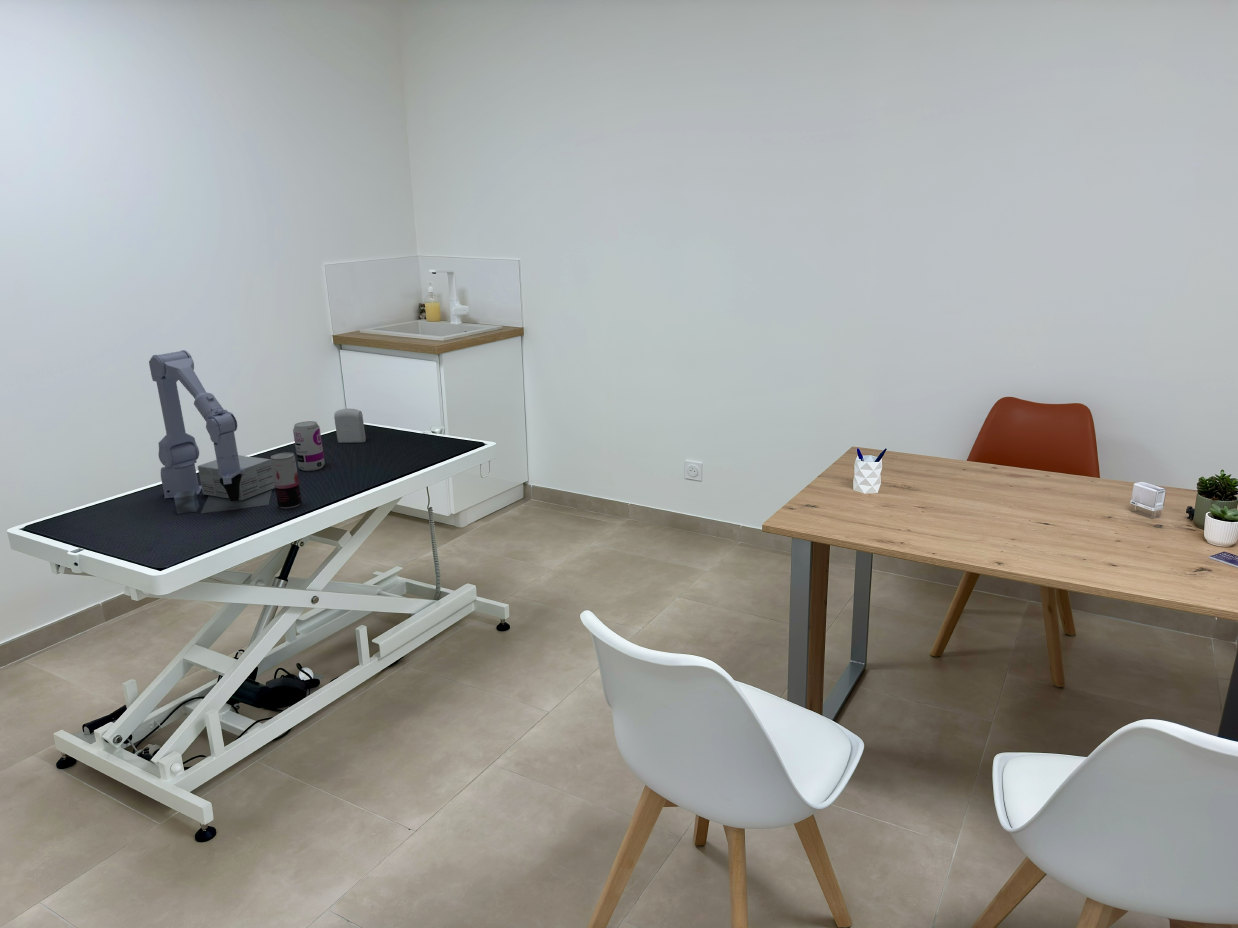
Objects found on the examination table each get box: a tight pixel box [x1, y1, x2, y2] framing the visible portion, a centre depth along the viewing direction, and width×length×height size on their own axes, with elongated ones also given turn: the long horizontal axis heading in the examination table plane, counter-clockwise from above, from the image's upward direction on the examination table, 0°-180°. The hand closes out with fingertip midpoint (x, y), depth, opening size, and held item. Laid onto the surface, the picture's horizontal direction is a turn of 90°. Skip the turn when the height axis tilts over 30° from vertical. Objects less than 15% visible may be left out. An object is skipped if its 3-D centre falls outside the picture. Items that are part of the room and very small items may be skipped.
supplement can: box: [292, 420, 326, 472], centre depth 276 cm, size 8×8×15 cm
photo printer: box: [333, 408, 367, 444], centre depth 306 cm, size 10×4×12 cm, turn 85°
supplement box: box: [197, 454, 275, 500], centre depth 255 cm, size 17×13×9 cm
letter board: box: [200, 489, 273, 515], centre depth 252 cm, size 18×22×1 cm
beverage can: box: [270, 452, 303, 509], centre depth 242 cm, size 6×6×15 cm
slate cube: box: [173, 490, 200, 515], centre depth 242 cm, size 5×5×5 cm
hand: (234, 500), depth 244 cm, fingers closed
